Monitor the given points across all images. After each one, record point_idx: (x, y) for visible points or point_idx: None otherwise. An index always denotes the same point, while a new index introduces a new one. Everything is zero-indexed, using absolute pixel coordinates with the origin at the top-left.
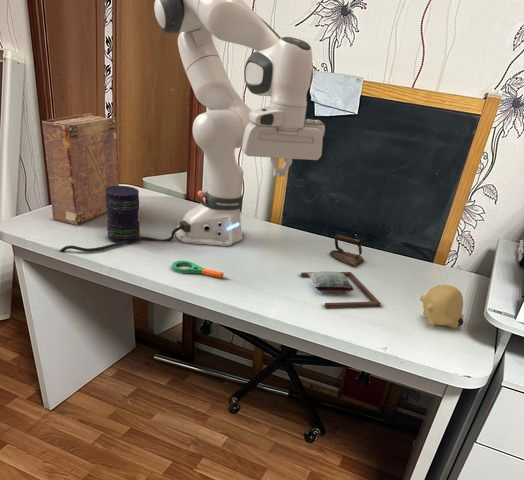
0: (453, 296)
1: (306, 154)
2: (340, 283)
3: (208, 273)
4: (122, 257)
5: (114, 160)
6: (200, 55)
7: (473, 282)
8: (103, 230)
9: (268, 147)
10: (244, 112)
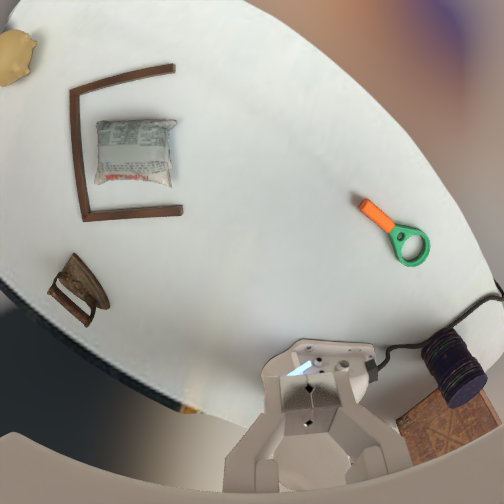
0: None
1: (77, 500)
2: (118, 123)
3: (385, 214)
4: (466, 285)
5: (416, 461)
6: None
7: None
8: None
9: (496, 498)
10: None
